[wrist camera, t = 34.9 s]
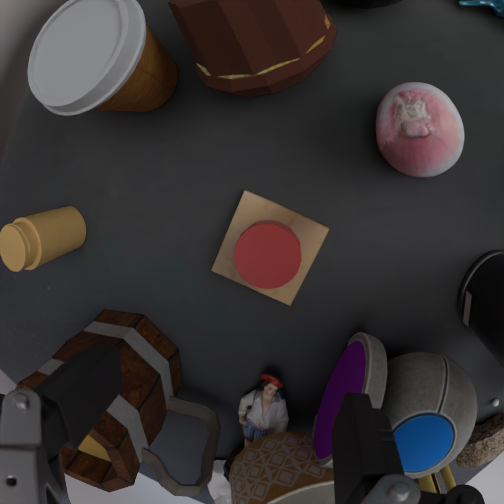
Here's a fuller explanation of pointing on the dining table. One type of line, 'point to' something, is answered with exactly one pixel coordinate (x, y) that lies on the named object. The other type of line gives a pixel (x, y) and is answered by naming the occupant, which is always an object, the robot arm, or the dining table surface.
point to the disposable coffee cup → (100, 60)
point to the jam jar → (41, 237)
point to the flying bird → (499, 0)
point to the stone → (483, 443)
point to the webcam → (403, 403)
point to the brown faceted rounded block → (254, 42)
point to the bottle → (369, 3)
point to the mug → (132, 407)
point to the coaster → (264, 209)
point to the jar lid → (267, 254)
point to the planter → (280, 472)
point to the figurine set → (495, 402)
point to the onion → (419, 130)
